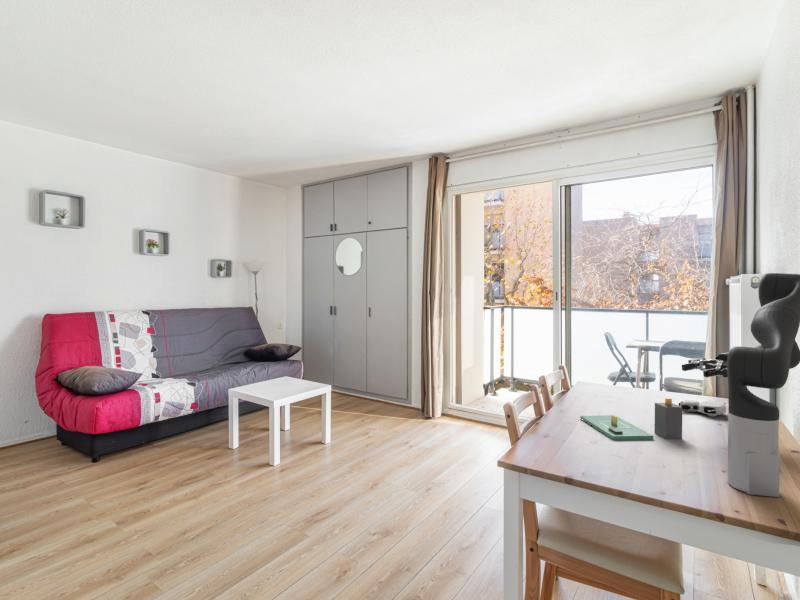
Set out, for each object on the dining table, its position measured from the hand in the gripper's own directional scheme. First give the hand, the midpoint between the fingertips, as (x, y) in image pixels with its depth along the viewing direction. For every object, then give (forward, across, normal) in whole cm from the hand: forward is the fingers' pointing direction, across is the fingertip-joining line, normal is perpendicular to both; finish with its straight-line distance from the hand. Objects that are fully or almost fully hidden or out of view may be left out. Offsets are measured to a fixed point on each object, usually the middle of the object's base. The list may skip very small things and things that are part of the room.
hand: (693, 370), depth 137 cm
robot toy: (-20, -21, +26) cm, 39 cm away
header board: (+24, -8, +18) cm, 31 cm away
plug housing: (+12, +1, +19) cm, 23 cm away
